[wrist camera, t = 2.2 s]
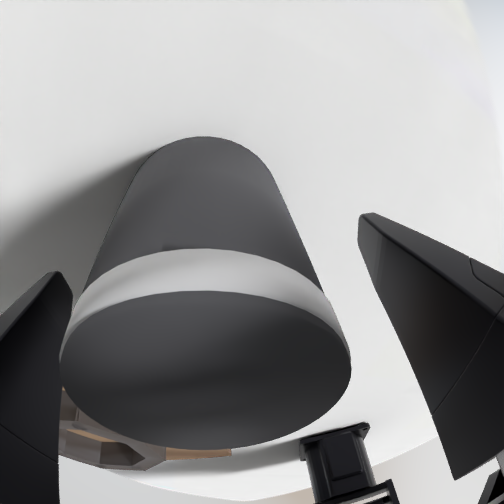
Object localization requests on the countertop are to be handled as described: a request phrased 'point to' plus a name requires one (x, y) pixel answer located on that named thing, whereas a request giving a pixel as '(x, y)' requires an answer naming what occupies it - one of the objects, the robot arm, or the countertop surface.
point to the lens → (204, 310)
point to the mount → (113, 444)
